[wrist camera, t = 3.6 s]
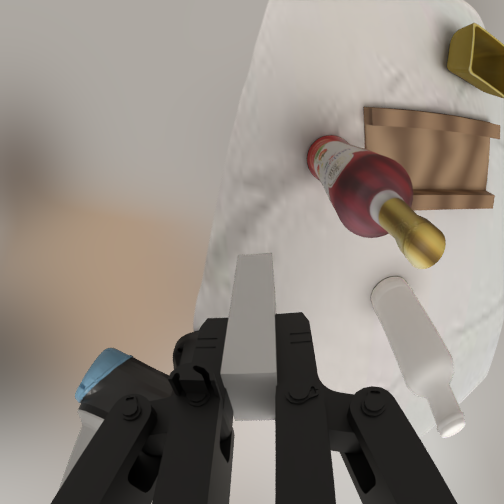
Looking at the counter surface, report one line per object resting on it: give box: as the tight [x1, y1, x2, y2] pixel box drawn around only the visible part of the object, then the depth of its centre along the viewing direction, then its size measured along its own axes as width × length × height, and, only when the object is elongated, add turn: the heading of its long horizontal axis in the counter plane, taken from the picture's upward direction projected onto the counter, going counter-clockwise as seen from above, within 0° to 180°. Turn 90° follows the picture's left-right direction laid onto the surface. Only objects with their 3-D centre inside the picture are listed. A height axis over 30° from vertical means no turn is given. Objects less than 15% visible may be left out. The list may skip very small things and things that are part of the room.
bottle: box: [371, 276, 466, 438], centre depth 37 cm, size 8×8×30 cm
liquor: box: [307, 135, 445, 269], centre depth 27 cm, size 7×7×28 cm
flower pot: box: [447, 23, 504, 98], centre depth 26 cm, size 9×9×9 cm
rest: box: [364, 107, 500, 210], centre depth 36 cm, size 25×15×3 cm, turn 96°
